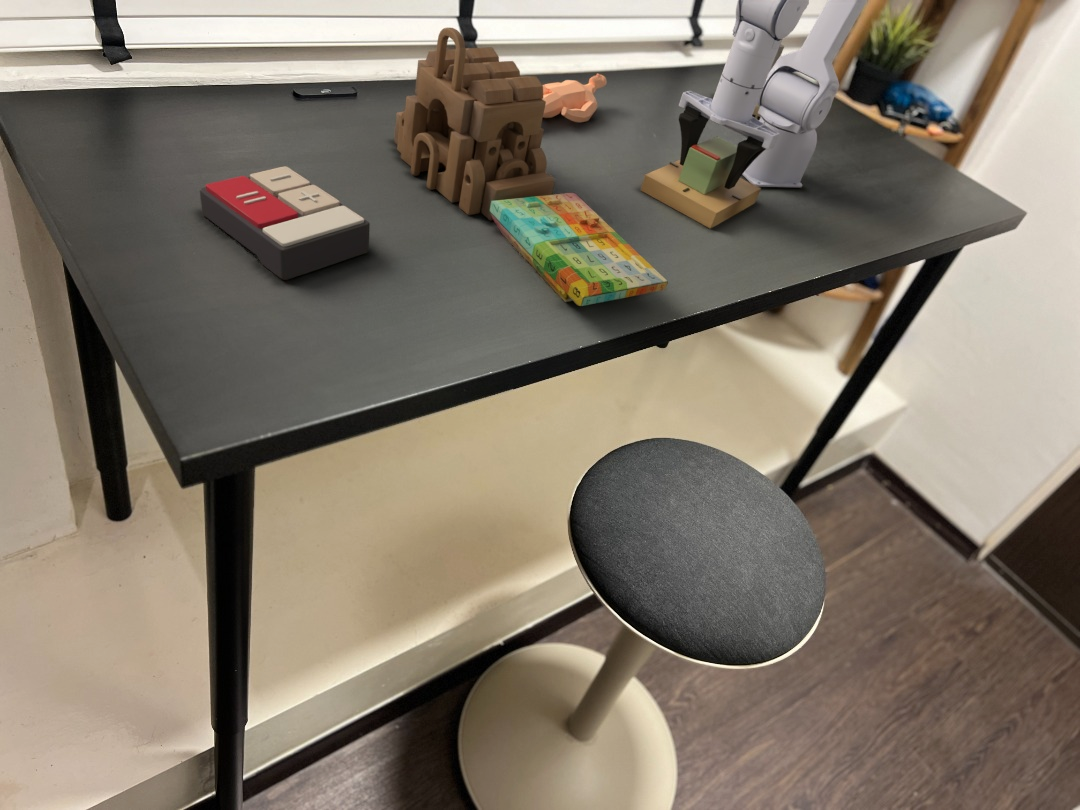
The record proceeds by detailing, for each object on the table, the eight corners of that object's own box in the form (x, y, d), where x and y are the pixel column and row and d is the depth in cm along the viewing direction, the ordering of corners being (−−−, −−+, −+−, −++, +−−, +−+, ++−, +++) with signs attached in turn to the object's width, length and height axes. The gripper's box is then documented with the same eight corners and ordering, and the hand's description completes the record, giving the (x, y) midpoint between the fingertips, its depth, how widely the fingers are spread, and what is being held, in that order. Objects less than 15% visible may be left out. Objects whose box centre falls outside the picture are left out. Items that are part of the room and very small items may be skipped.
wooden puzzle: (560, 207, 103) (596, 63, 90) (470, 226, 94) (496, 70, 82) (464, 132, 113) (485, -5, 101) (376, 144, 105) (387, -5, 93)
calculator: (287, 161, 89) (371, 216, 83) (288, 196, 92) (370, 252, 85) (196, 181, 82) (281, 243, 75) (201, 218, 85) (283, 281, 78)
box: (704, 168, 116) (717, 134, 112) (730, 181, 114) (744, 147, 111) (677, 180, 110) (690, 145, 107) (704, 194, 109) (717, 159, 105)
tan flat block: (687, 168, 121) (693, 152, 119) (755, 203, 116) (762, 187, 114) (639, 190, 111) (644, 172, 110) (711, 229, 107) (717, 212, 105)
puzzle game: (573, 185, 97) (670, 274, 86) (564, 219, 100) (657, 309, 89) (492, 193, 91) (585, 290, 80) (485, 228, 94) (574, 326, 83)
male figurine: (471, 88, 117) (582, 58, 131) (468, 120, 121) (576, 87, 135) (520, 118, 113) (629, 84, 127) (516, 150, 116) (623, 113, 130)
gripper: (682, 62, 103) (651, 159, 111) (777, 107, 97) (737, 204, 106) (707, 56, 107) (676, 149, 116) (800, 98, 102) (759, 192, 111)
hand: (706, 175), depth 112 cm, fingers open, 7 cm apart
